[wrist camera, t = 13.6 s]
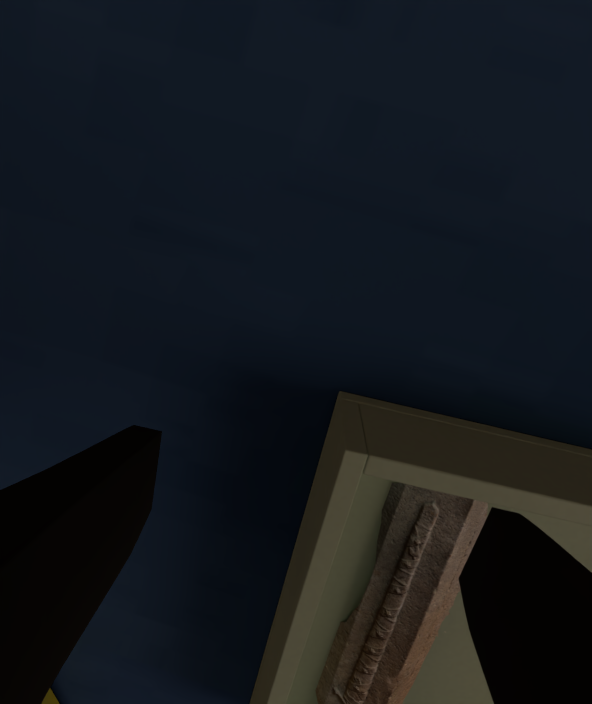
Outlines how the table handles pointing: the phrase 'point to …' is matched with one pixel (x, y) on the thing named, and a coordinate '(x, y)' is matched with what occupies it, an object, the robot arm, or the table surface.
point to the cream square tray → (365, 520)
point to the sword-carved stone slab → (402, 596)
